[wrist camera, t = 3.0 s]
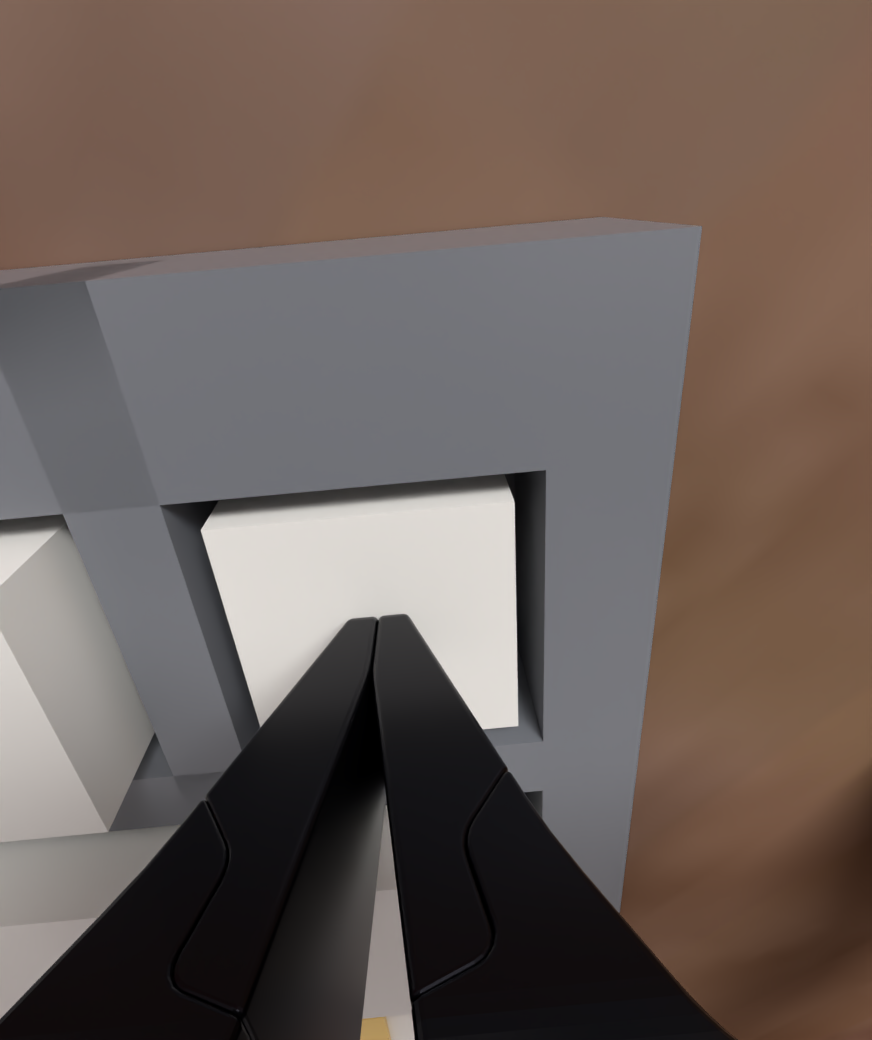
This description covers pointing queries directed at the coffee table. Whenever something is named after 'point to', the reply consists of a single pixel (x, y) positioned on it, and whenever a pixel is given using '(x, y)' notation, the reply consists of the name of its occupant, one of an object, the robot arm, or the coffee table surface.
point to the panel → (368, 464)
